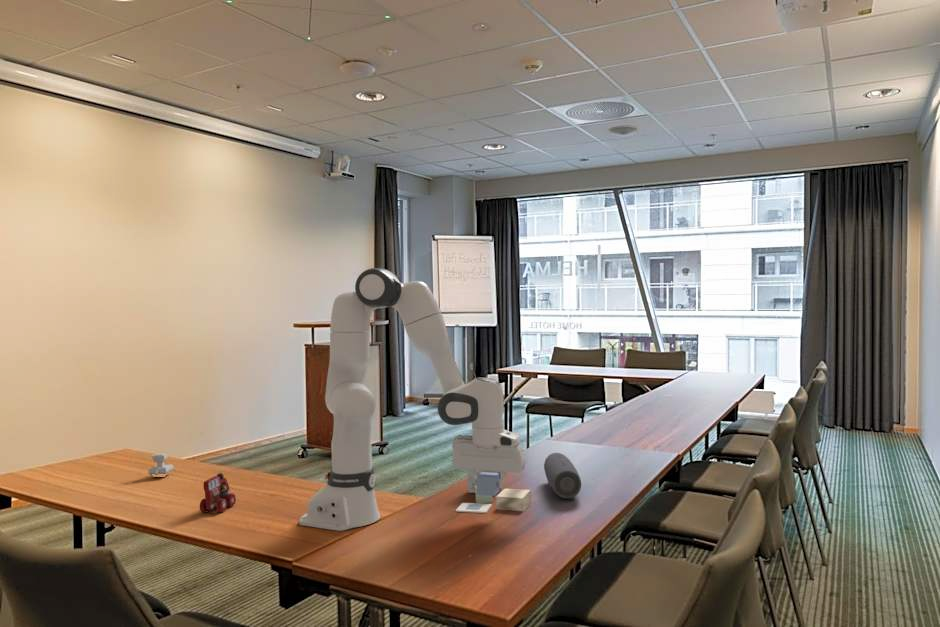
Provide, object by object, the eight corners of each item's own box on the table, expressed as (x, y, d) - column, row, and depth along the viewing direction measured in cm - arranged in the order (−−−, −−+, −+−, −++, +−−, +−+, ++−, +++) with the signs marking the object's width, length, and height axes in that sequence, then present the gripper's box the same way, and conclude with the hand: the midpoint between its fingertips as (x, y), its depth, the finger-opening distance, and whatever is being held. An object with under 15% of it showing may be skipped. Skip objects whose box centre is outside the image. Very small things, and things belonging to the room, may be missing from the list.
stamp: (165, 479, 236) (164, 456, 236) (146, 480, 235) (145, 457, 235) (175, 473, 245) (174, 450, 244) (157, 474, 244) (156, 451, 244)
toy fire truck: (239, 502, 203) (237, 469, 203) (218, 516, 191) (216, 481, 190) (218, 502, 204) (217, 470, 204) (196, 515, 192) (194, 481, 191)
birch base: (496, 510, 186) (496, 496, 185) (505, 501, 193) (504, 488, 193) (523, 512, 183) (522, 498, 182) (531, 503, 190) (530, 490, 190)
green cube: (475, 503, 192) (475, 486, 192) (476, 498, 197) (475, 482, 197) (492, 502, 192) (491, 486, 192) (492, 497, 197) (491, 481, 197)
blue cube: (477, 494, 177) (476, 476, 177) (481, 489, 182) (481, 472, 182) (494, 496, 175) (494, 477, 175) (499, 491, 180) (499, 473, 180)
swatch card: (455, 511, 185) (455, 509, 185) (462, 504, 191) (462, 502, 191) (486, 513, 182) (486, 511, 182) (492, 505, 189) (491, 503, 189)
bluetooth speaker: (584, 502, 189) (582, 468, 188) (552, 503, 189) (551, 469, 188) (571, 480, 211) (570, 450, 211) (543, 481, 211) (541, 451, 211)
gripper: (448, 436, 178) (448, 486, 178) (521, 440, 172) (521, 492, 173) (455, 432, 184) (455, 480, 184) (526, 436, 179) (526, 486, 179)
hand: (488, 486), depth 178 cm, fingers closed on blue cube, 5 cm apart
